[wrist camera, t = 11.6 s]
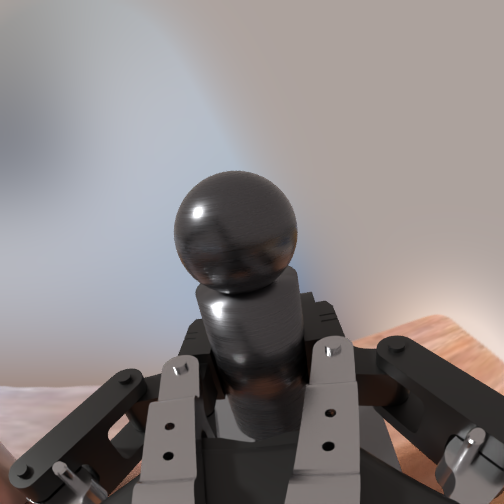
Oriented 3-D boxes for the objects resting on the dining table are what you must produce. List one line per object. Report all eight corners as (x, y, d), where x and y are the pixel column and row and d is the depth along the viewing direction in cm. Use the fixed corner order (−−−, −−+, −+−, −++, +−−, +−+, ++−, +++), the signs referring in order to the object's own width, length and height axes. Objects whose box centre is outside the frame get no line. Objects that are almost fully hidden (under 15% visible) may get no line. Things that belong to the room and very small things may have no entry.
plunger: (357, 562, 12) (444, 156, 4) (248, 574, 13) (9, 240, 5) (345, 486, 20) (335, 149, 12) (252, 497, 21) (143, 185, 13)
